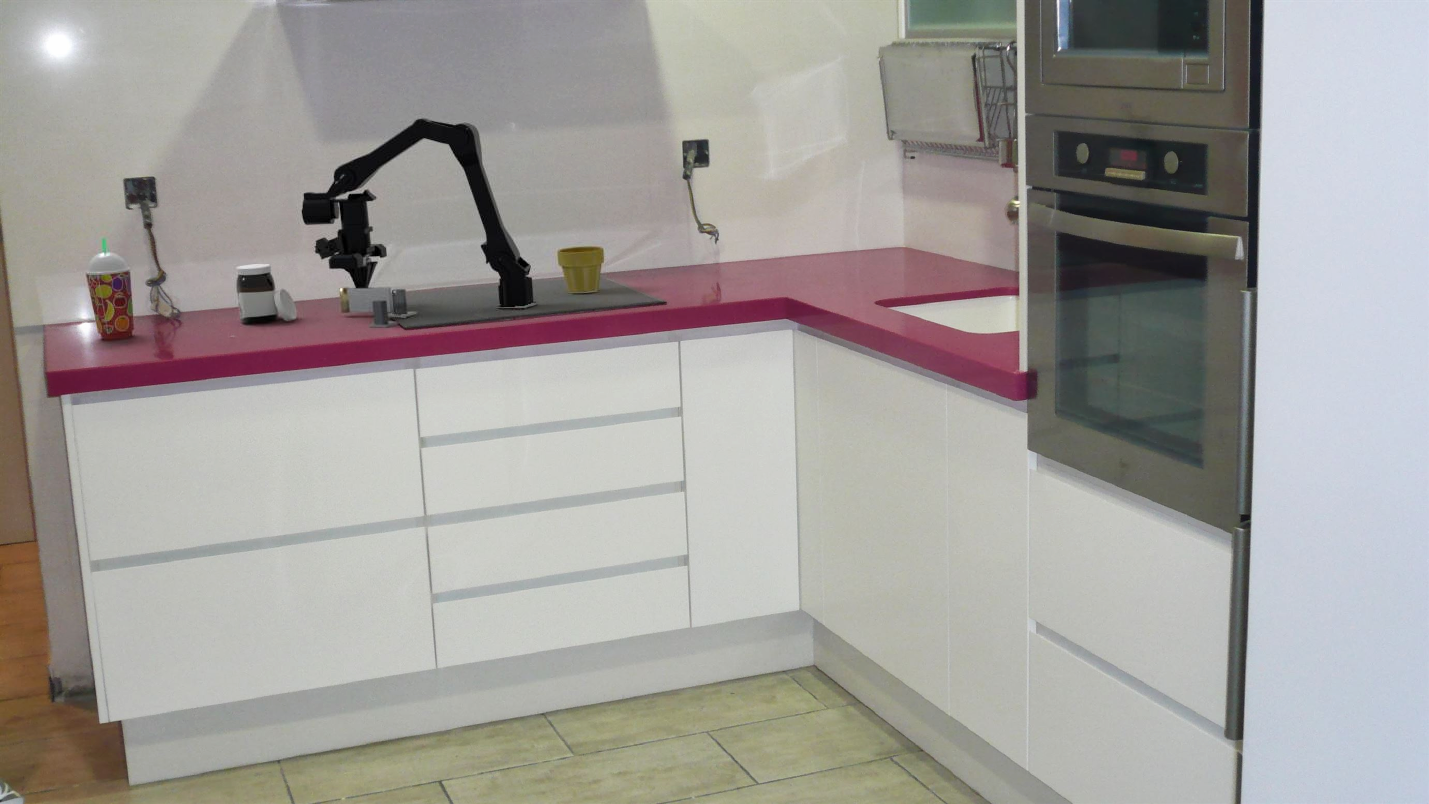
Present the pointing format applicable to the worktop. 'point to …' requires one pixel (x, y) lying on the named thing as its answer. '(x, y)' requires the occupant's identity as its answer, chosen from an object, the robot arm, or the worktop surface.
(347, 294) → the gate
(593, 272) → the plant pot
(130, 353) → the worktop surface
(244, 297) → the spread jar
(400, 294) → the hinge post
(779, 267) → the worktop surface
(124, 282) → the smoothie
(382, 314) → the post
